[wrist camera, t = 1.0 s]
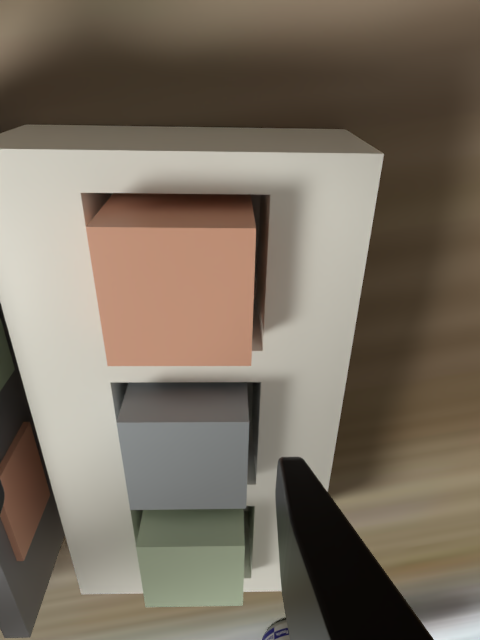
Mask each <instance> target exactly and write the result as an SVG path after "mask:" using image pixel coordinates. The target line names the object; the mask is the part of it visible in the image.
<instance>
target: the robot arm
mask: <svg viewBox="0 0 480 640" xmlns="http://www.w3.org/2000/svg"><path fill="white" fill-rule="evenodd" d="M4 497H5V494H4V488H3V486H2V483H1V480H0V514H1V511H2V508H3V504H4ZM275 501H276V517H277V532H278V547H279V563H280V577H281V588H282V596H283V602H284V609H285V614H286V620H287V626H288V631H289V637H290V640H434V639H433V638H432V636H431V635H430V634H429V632H428V631H427V630H426V628H425V627H424V625H423V624H422V623H421V621H420V620H419V618H418V617H417V616H416V614H415V613H414V611H413V610H412V609H411V607H410V606H409V605H408V603H407V602H406V600H405V599H404V598H403V596H402V595H401V593H400V592H399V591H398V589H397V588H396V586H395V585H394V584H393V582H392V581H391V580H390V578H389V577H388V575H387V574H386V573H385V571H384V570H383V568H382V567H381V566H380V564H379V563H378V562H377V560H376V559H375V557H374V556H373V555H372V553H371V552H370V550H369V549H368V548H367V546H366V545H365V543H364V542H363V541H362V539H361V538H360V537H359V535H358V534H357V532H356V531H355V530H354V528H353V527H352V525H351V524H350V523H349V521H348V520H347V519H346V517H345V516H344V514H343V513H342V512H341V510H340V509H339V507H338V506H337V505H336V503H335V502H334V500H333V499H332V498H331V496H330V495H329V494H328V492H327V491H326V489H325V488H324V487H323V485H322V484H321V482H320V481H319V480H318V478H317V477H316V475H315V474H314V473H313V471H312V470H311V469H310V467H309V466H308V464H307V463H306V462H305V460H304V459H303V458H301V457H281V458H279V460H278V465H277V477H276V489H275Z"/></svg>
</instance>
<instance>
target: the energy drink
mask: <svg viewBox="0 0 480 640" xmlns="http://www.w3.org/2000/svg"><path fill="white" fill-rule="evenodd" d="M262 640H290V637H289V631H288V626H287V620H282V621H279V622H277V623H275V624H273V625H272V626H270V627H269V628H268V629H267V631H266V632H265V634H264V636H263V638H262Z"/></svg>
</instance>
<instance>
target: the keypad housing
mask: <svg viewBox="0 0 480 640" xmlns="http://www.w3.org/2000/svg"><path fill="white" fill-rule="evenodd" d="M383 157H384V153H382V152H380V151H379V150H377V149H376V148H374V147H373V146H371V145H369V144H368V143H366V142H365V141H363V140H361V139H360V138H358V137H357V136H355V135H354V134H352V133H350V132H349V131H347V130H346V129H301V128H232V127H164V126H95V125H27V124H26V125H23V126H20V127H17V128H14V129H11V130H9V131H6V132H3V133H0V480H1V483H2V486H3V488H4V494H5V497H4V504H3V508H2V511H1V514H0V629H1V631H2V633H3V635H4V637H5V638H23V637H30V636H31V633H32V630H33V627H34V624H35V621H36V618H37V615H38V612H39V609H40V606H41V604H42V601H43V598H44V595H45V592H46V589H47V586H48V583H49V580H50V577H51V574H52V571H53V568H54V565H55V562H56V559H57V556H58V553H59V550H60V547H61V544H62V541H63V538H64V535H65V537H66V540H67V544H68V548H69V551H70V555H71V558H72V562H73V566H74V569H75V573H76V576H77V580H78V584H79V587H80V591H81V594H132V593H143V588H142V582H141V575H140V569H139V563H138V556H137V550H136V545H137V540H138V534H139V529H140V523H141V518H142V512H143V510H130V505H129V499H128V493H127V486H126V480H125V474H124V467H123V461H122V454H121V448H120V442H119V435H118V429H117V419H118V416H119V413H120V409H121V406H122V403H123V399H124V396H125V393H126V389H127V386H128V382H247V393H248V409H249V444H248V472H247V500H246V509H244V537H245V556H244V584H243V592H257V591H282V588H281V577H280V563H279V547H278V532H277V517H276V501H275V489H276V477H277V465H278V460H279V458H281V457H301V458H303V459H304V460H305V462H306V463H307V464H308V466H309V467H310V469H311V470H312V471H313V473H314V474H315V475H316V477H317V478H318V480H319V481H320V482H321V484H322V485H323V487H324V488H325V489H326V491H327V492H328V487H329V481H330V475H331V469H332V463H333V457H334V451H335V445H336V439H337V433H338V427H339V421H340V415H341V409H342V403H343V397H344V391H345V385H346V379H347V373H348V367H349V361H350V355H351V349H352V343H353V337H354V331H355V325H356V319H357V313H358V307H359V301H360V295H361V289H362V283H363V277H364V271H365V265H366V259H367V253H368V247H369V241H370V235H371V229H372V223H373V217H374V211H375V205H376V199H377V193H378V187H379V181H380V175H381V169H382V163H383ZM113 193H158V194H250V195H251V201H252V207H253V213H254V218H255V224H256V248H255V276H254V304H253V332H252V360H251V366H108V365H107V359H106V353H105V346H104V340H103V334H102V327H101V321H100V315H99V308H98V302H97V296H96V289H95V283H94V277H93V270H92V264H91V257H90V251H89V245H88V238H87V232H86V226H87V225H88V224H89V222H90V221H91V220H92V219H93V218H94V216H95V215H96V214H97V213H98V211H99V210H100V209H101V208H102V206H103V205H104V204H105V203H106V202H107V200H108V199H109V198H110V197H111V195H112V194H113Z"/></svg>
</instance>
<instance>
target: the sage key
mask: <svg viewBox="0 0 480 640" xmlns="http://www.w3.org/2000/svg"><path fill="white" fill-rule="evenodd" d="M136 550H137V556H138V563H139V569H140V575H141V582H142V588H143V594H144V601H145V607H189V606H243V584H244V556H245V537H244V509H176V510H143V512H142V518H141V523H140V529H139V534H138V540H137V545H136Z"/></svg>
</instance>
